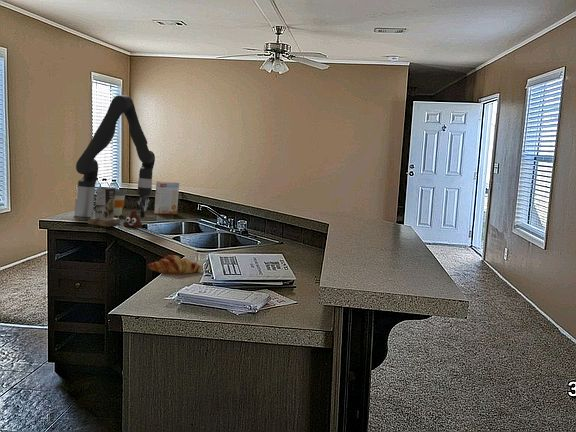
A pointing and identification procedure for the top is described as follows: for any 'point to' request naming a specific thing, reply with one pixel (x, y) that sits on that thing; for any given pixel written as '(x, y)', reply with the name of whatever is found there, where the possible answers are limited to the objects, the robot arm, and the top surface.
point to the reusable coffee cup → (119, 201)
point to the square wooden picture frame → (104, 221)
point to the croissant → (175, 265)
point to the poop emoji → (133, 220)
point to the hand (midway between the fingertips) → (142, 217)
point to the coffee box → (105, 203)
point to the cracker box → (166, 197)
